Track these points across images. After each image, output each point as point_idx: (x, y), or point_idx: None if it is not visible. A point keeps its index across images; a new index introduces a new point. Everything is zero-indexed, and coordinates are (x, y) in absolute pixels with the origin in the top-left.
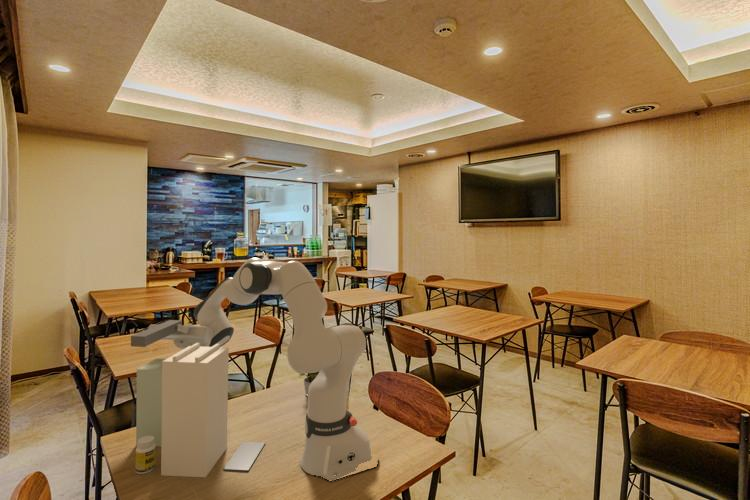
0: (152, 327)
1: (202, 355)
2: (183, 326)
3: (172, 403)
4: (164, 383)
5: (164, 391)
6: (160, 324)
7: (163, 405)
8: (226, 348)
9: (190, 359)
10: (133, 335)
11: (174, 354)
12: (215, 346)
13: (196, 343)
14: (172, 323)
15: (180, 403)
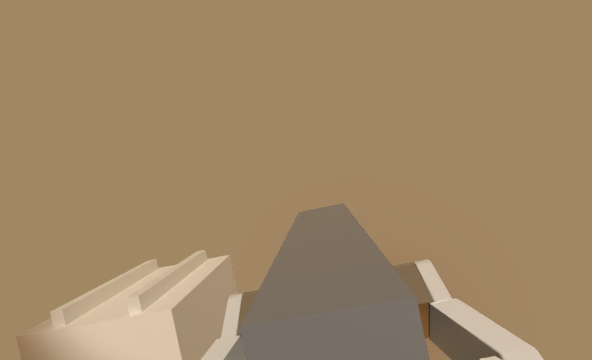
0: (354, 222)
1: (137, 266)
2: (214, 347)
3: None
4: None
5: None
6: (360, 238)
7: None
8: (32, 329)
9: (167, 270)
10: (340, 205)
11: (211, 271)
12: (80, 296)
13: (140, 293)
14: (290, 263)
15: None
